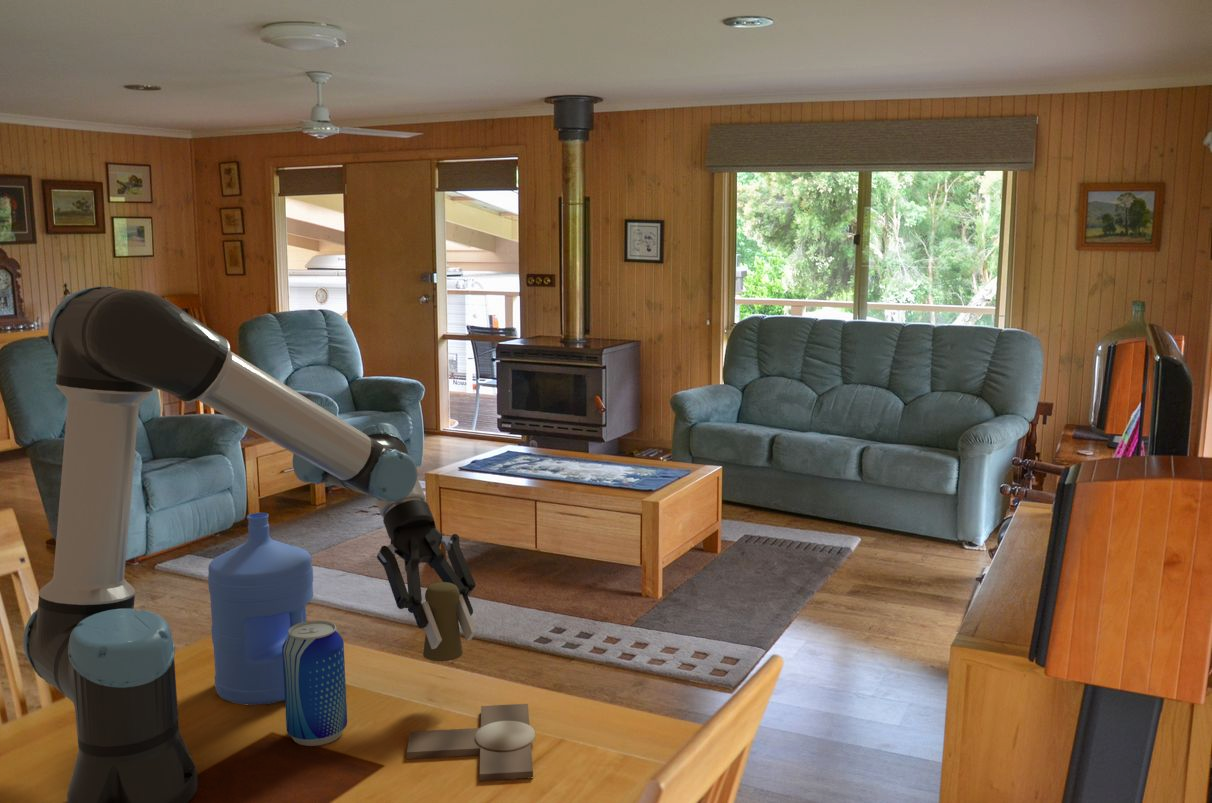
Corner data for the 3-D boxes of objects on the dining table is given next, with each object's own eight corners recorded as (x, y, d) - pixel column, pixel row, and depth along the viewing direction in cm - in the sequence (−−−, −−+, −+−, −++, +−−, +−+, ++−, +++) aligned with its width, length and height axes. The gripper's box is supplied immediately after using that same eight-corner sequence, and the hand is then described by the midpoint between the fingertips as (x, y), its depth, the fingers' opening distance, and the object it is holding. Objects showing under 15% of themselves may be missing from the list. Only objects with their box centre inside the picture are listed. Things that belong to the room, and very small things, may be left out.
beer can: (318, 716, 156) (313, 613, 153) (359, 729, 152) (355, 624, 149) (274, 739, 149) (268, 632, 146) (316, 754, 144) (311, 644, 142)
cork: (455, 663, 156) (454, 592, 155) (417, 659, 157) (416, 589, 156) (468, 648, 162) (467, 579, 160) (431, 644, 163) (430, 576, 162)
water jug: (193, 697, 162) (181, 523, 158) (262, 659, 176) (253, 498, 172) (273, 714, 156) (263, 534, 152) (338, 674, 170) (330, 508, 166)
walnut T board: (402, 785, 136) (402, 776, 136) (413, 715, 156) (413, 707, 156) (538, 777, 138) (538, 768, 138) (532, 709, 158) (532, 701, 157)
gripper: (448, 515, 175) (498, 639, 164) (344, 531, 164) (391, 665, 154) (463, 490, 170) (515, 616, 159) (357, 505, 159) (406, 642, 148)
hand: (454, 640), depth 156 cm, fingers closed on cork, 5 cm apart
